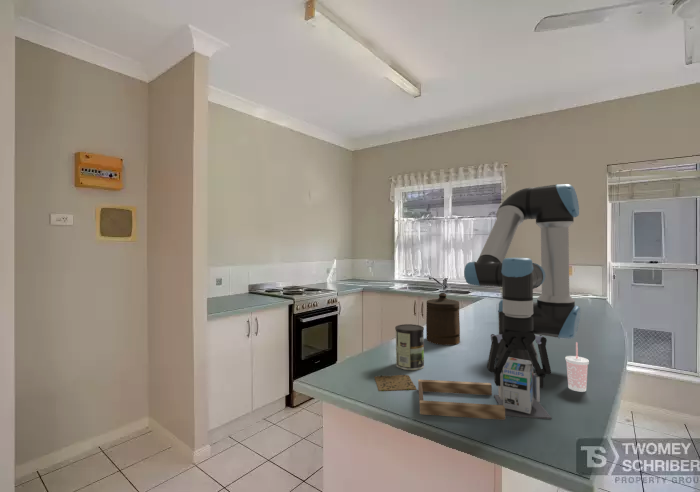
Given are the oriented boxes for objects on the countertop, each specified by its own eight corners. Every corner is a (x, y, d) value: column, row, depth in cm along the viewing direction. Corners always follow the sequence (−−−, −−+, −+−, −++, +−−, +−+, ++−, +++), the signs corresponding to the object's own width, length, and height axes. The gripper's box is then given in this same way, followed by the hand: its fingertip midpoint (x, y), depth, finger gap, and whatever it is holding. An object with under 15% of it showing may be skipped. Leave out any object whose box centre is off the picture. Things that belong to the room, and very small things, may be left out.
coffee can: (424, 361, 132) (423, 324, 132) (424, 371, 122) (423, 331, 122) (396, 360, 134) (396, 323, 134) (394, 369, 124) (394, 330, 124)
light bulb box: (530, 414, 89) (530, 372, 89) (502, 408, 92) (502, 367, 92) (533, 398, 98) (533, 360, 98) (507, 393, 101) (507, 356, 101)
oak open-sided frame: (490, 393, 104) (490, 383, 104) (505, 419, 88) (505, 407, 88) (418, 389, 107) (418, 379, 107) (419, 414, 91) (419, 402, 91)
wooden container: (458, 337, 166) (458, 291, 166) (461, 346, 151) (460, 295, 151) (426, 336, 169) (426, 290, 169) (426, 344, 155) (425, 294, 155)
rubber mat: (534, 398, 100) (534, 397, 100) (551, 419, 88) (551, 417, 88) (493, 396, 102) (493, 394, 102) (505, 416, 90) (505, 414, 90)
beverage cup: (561, 384, 109) (560, 339, 109) (581, 384, 109) (580, 339, 109) (573, 392, 103) (572, 345, 103) (594, 392, 103) (593, 345, 103)
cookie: (373, 377, 118) (373, 374, 118) (408, 376, 119) (408, 373, 119) (377, 392, 106) (377, 389, 106) (417, 391, 107) (417, 388, 107)
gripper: (554, 312, 97) (555, 394, 97) (474, 311, 100) (475, 390, 100) (566, 318, 89) (567, 407, 89) (479, 316, 93) (480, 402, 93)
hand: (518, 398), depth 95 cm, fingers closed on light bulb box, 8 cm apart
